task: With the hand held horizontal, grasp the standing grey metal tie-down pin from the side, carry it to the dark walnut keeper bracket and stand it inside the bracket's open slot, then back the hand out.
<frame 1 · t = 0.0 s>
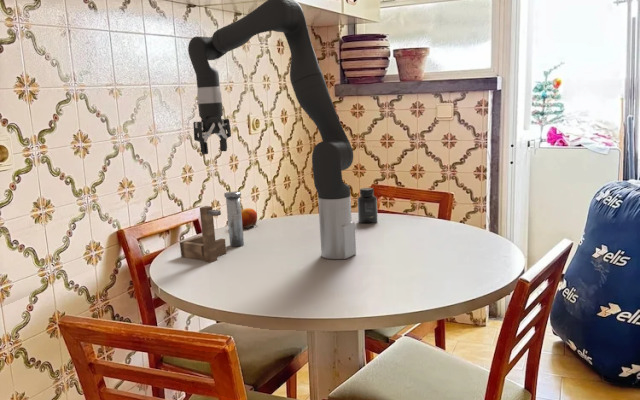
hand: (214, 152, 182), 29 cm above the table, tool pointing down, fingers open, 8 cm apart
tie-down pin: (237, 245, 180), on the table
supplement bottle: (368, 222, 201), on the table
keeper bracket: (205, 254, 171), on the table
fruit: (247, 227, 205), on the table
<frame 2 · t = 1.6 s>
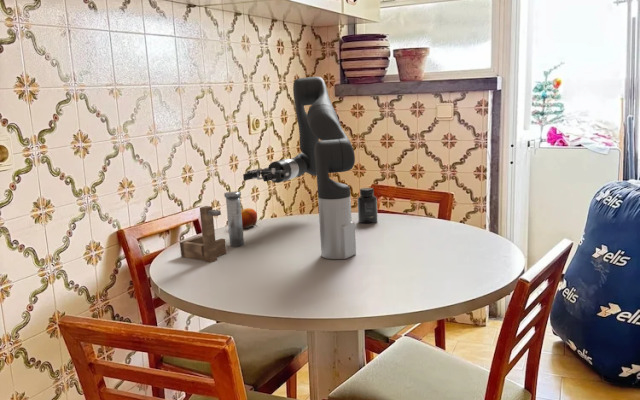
hand: (254, 177, 185), 20 cm above the table, tool horizontal, fingers open, 8 cm apart
nothing on the table moved.
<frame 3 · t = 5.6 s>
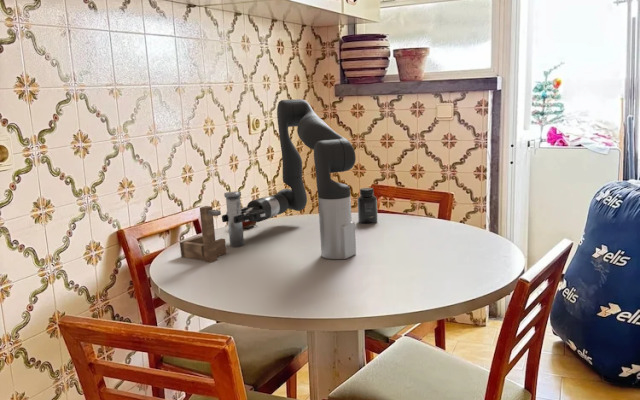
hand: (229, 219, 176), 9 cm above the table, tool horizontal, fingers closed on tie-down pin, 4 cm apart
tie-down pin: (237, 245, 180), on the table, touching gripper
everything else where it was.
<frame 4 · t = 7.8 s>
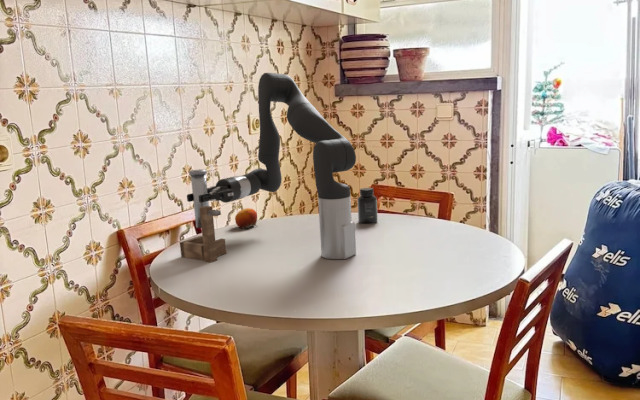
hand: (193, 198, 166), 18 cm above the table, tool horizontal, fingers closed on tie-down pin, 4 cm apart
tie-down pin: (203, 226, 170), point 9 cm above the table, touching gripper
everything else where it was.
when the fingers open (10 cm above the table, at t = 10.0 s): tie-down pin drops 1 cm, on the table.
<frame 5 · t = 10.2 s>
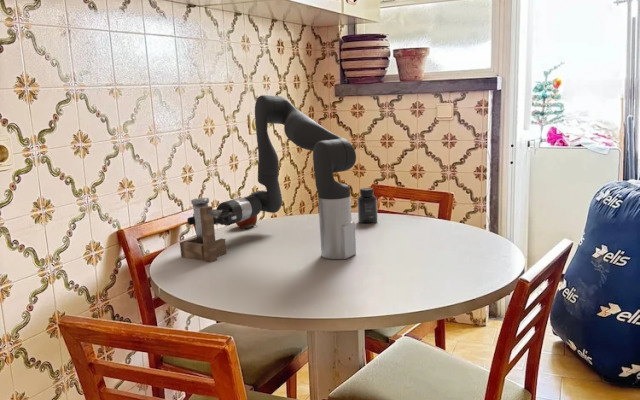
hand: (196, 222, 167), 10 cm above the table, tool horizontal, fingers open, 6 cm apart
tie-down pin: (205, 254, 171), on the table
everything else where it was.
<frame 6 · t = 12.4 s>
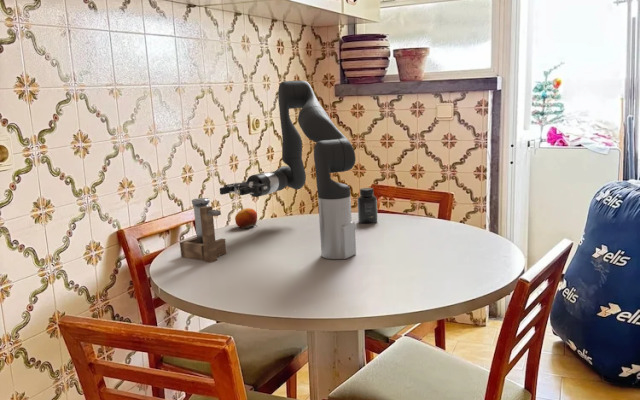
hand: (230, 191, 178), 17 cm above the table, tool horizontal, fingers open, 8 cm apart
nothing on the table moved.
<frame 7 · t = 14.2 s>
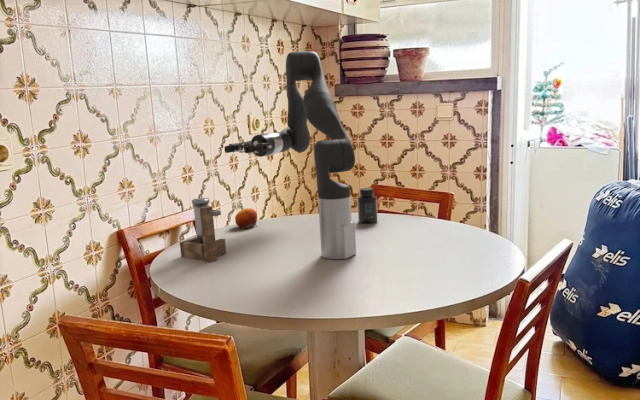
hand: (235, 149, 179), 30 cm above the table, tool horizontal, fingers open, 8 cm apart
nothing on the table moved.
at the end: tie-down pin 0.1 cm off-centre on the keeper bracket, point 0.0 cm above the keeper bracket's base; tie-down pin tilted 0°; the gripper is holding nothing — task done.
